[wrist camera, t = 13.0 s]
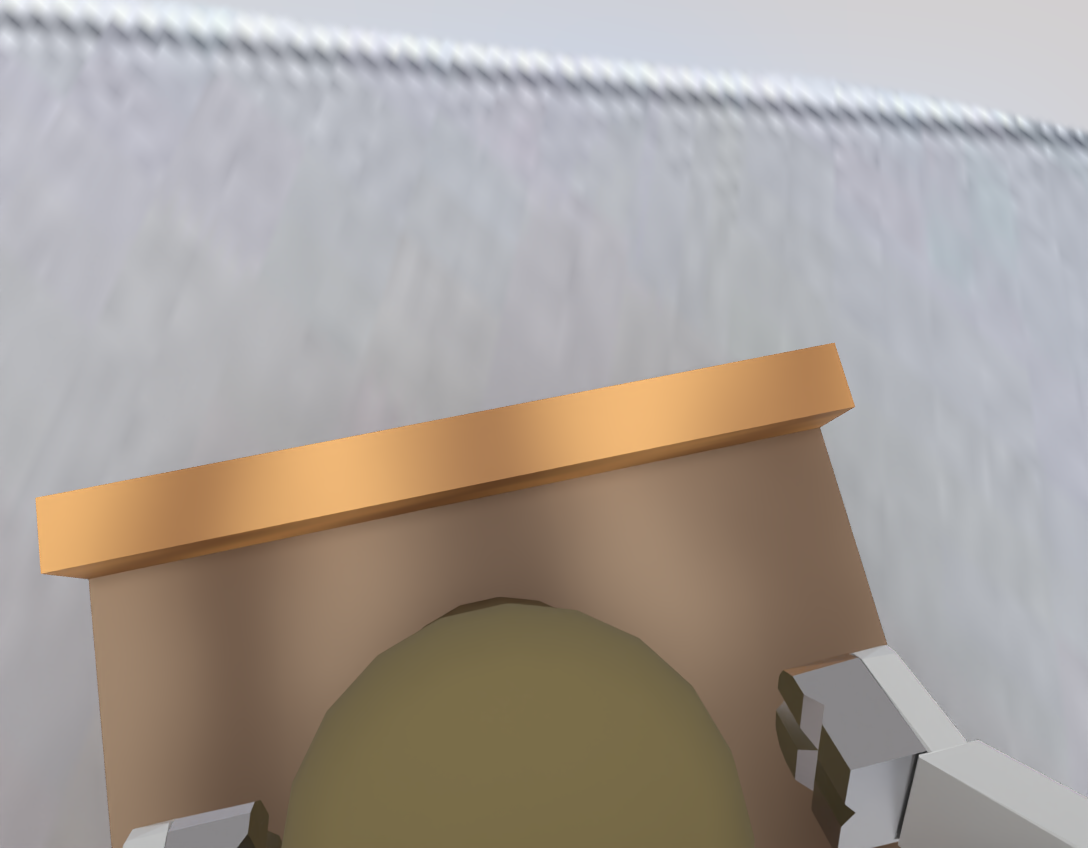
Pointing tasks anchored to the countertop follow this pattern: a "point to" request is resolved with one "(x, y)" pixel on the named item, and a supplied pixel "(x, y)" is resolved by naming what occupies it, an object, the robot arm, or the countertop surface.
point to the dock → (469, 572)
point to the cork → (518, 744)
